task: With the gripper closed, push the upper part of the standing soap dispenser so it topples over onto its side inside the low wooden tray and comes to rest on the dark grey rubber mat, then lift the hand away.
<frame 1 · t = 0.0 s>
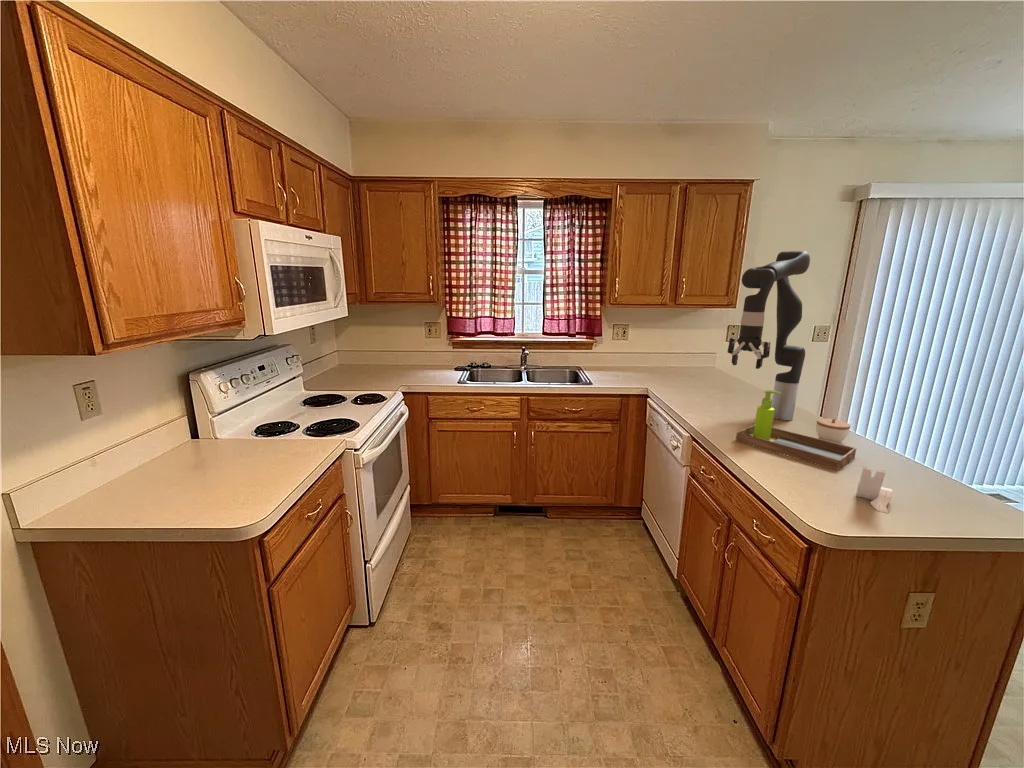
hand: (745, 366, 167), 29 cm above the countertop, tool pointing down, fingers open, 8 cm apart
soap dispenser: (762, 440, 174), resting in wooden tray
plastic part: (871, 503, 126), on the countertop
wooden tray: (792, 448, 165), on the countertop
lidded jar: (829, 441, 173), on the countertop
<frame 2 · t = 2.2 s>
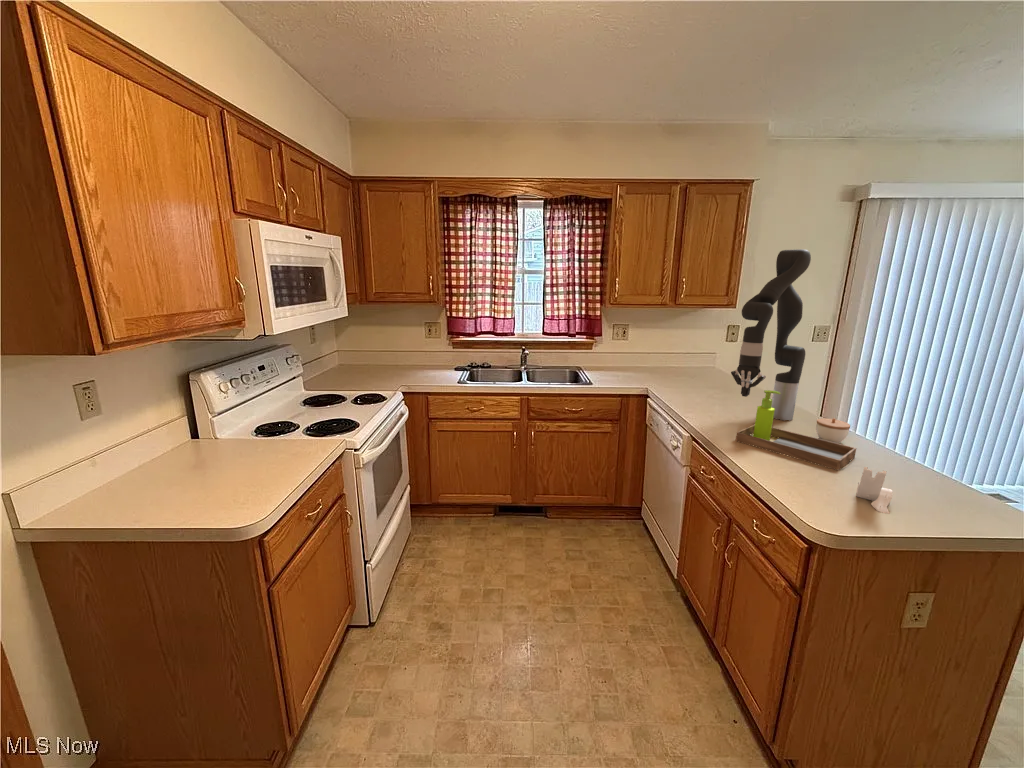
hand: (744, 396, 177), 16 cm above the countertop, tool pointing down, fingers closed
nothing on the countertop moved.
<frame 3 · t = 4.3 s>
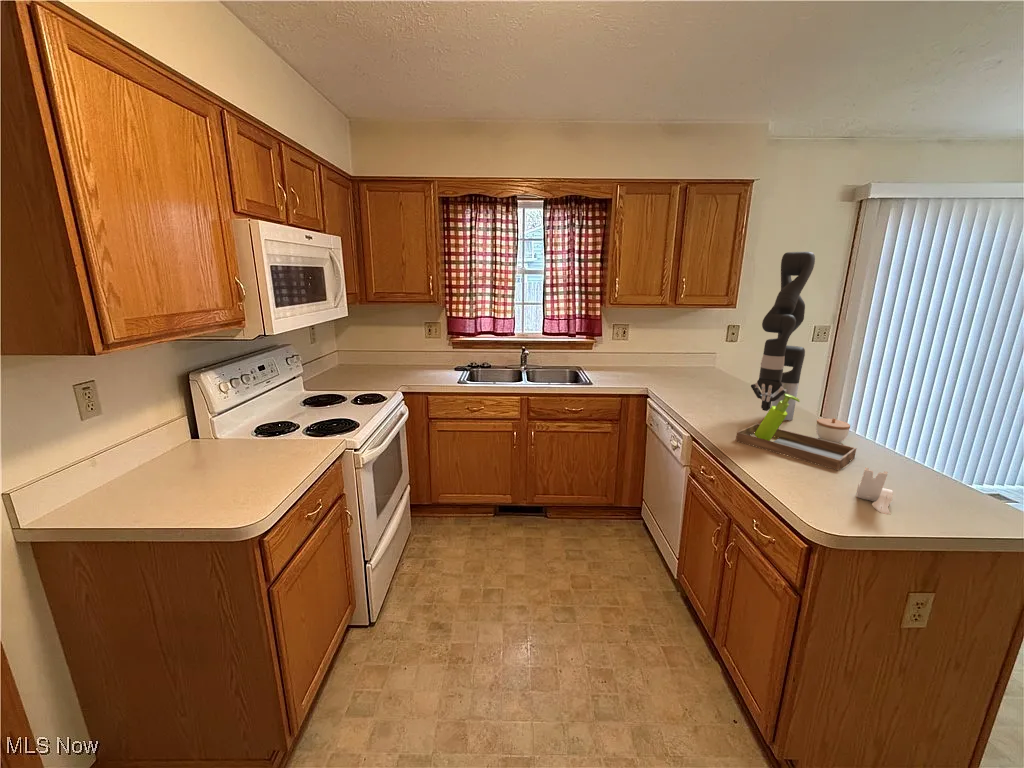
hand: (765, 410, 172), 12 cm above the countertop, tool pointing down, fingers closed
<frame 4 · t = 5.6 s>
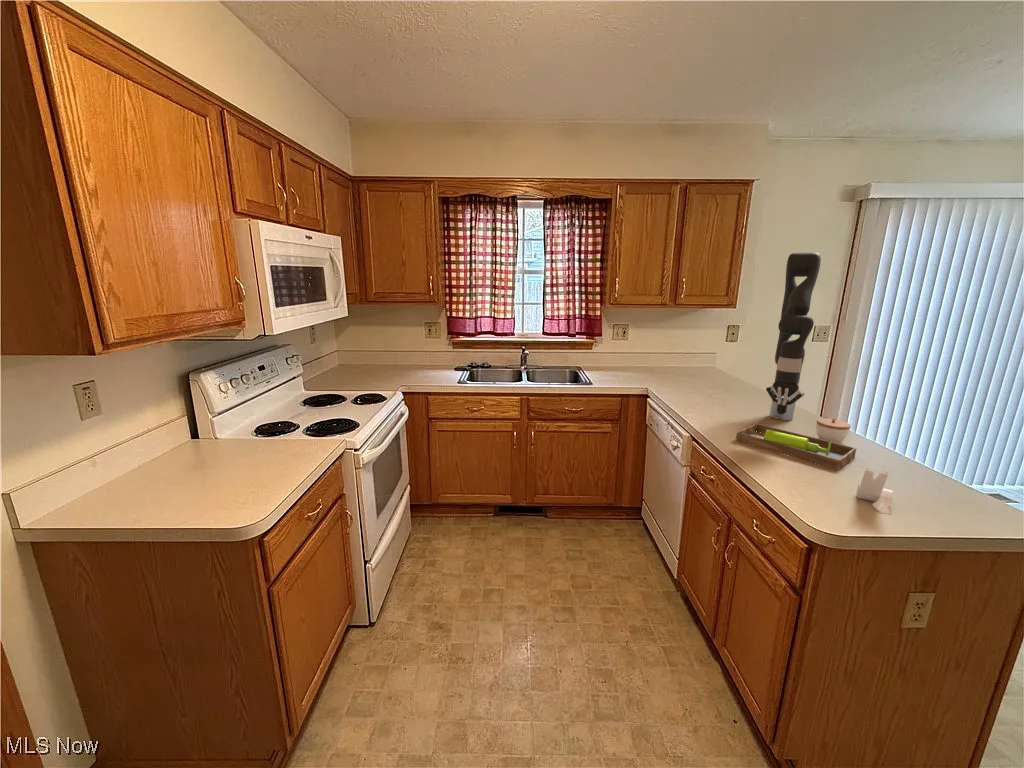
hand: (781, 413, 167), 12 cm above the countertop, tool pointing down, fingers closed
soap dispenser: (765, 435, 167), point 4 cm above the countertop, touching wooden tray
everything else where it was.
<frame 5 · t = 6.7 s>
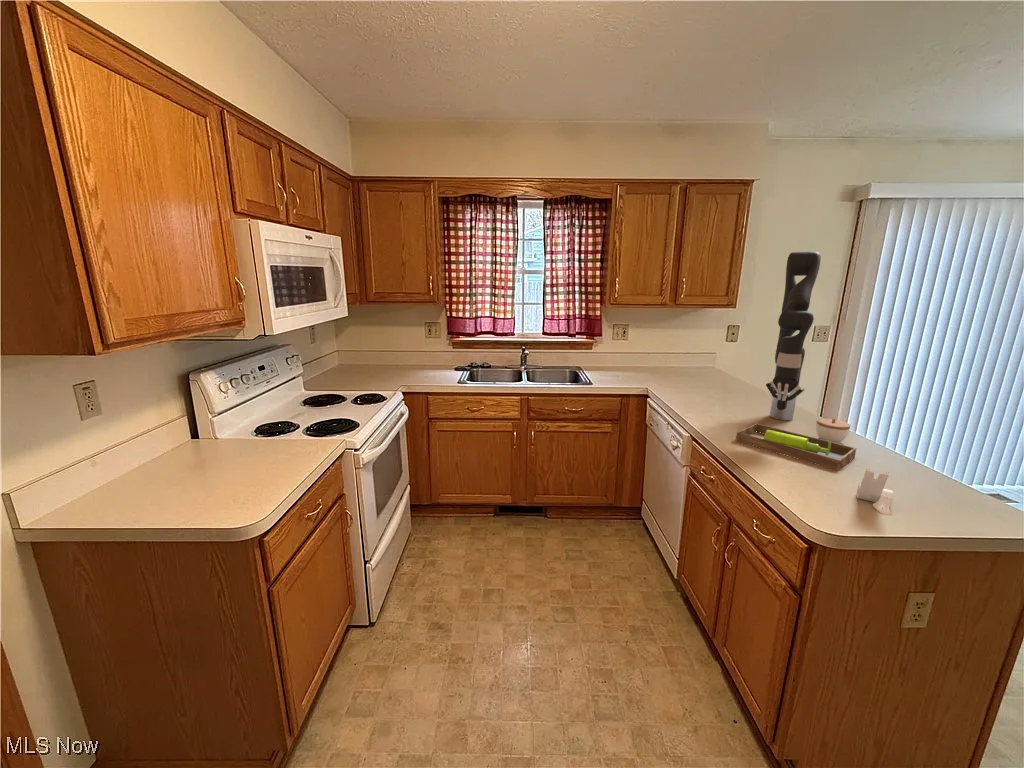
hand: (781, 409, 167), 14 cm above the countertop, tool pointing down, fingers closed
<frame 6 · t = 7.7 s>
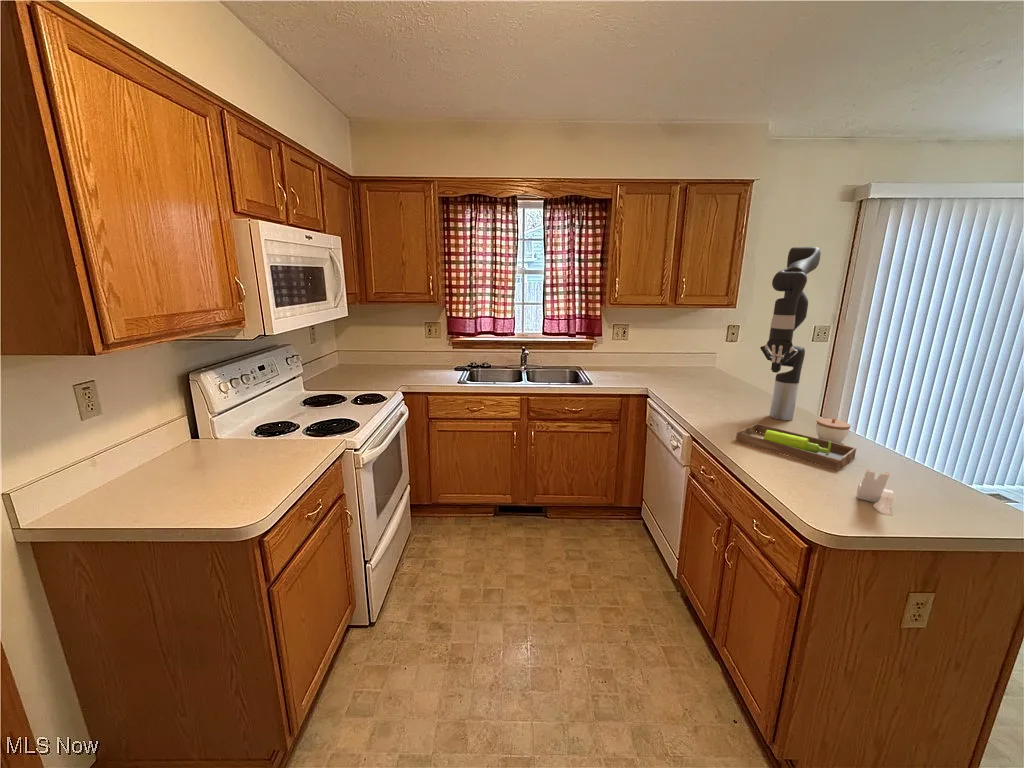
hand: (775, 372, 168), 27 cm above the countertop, tool pointing down, fingers closed
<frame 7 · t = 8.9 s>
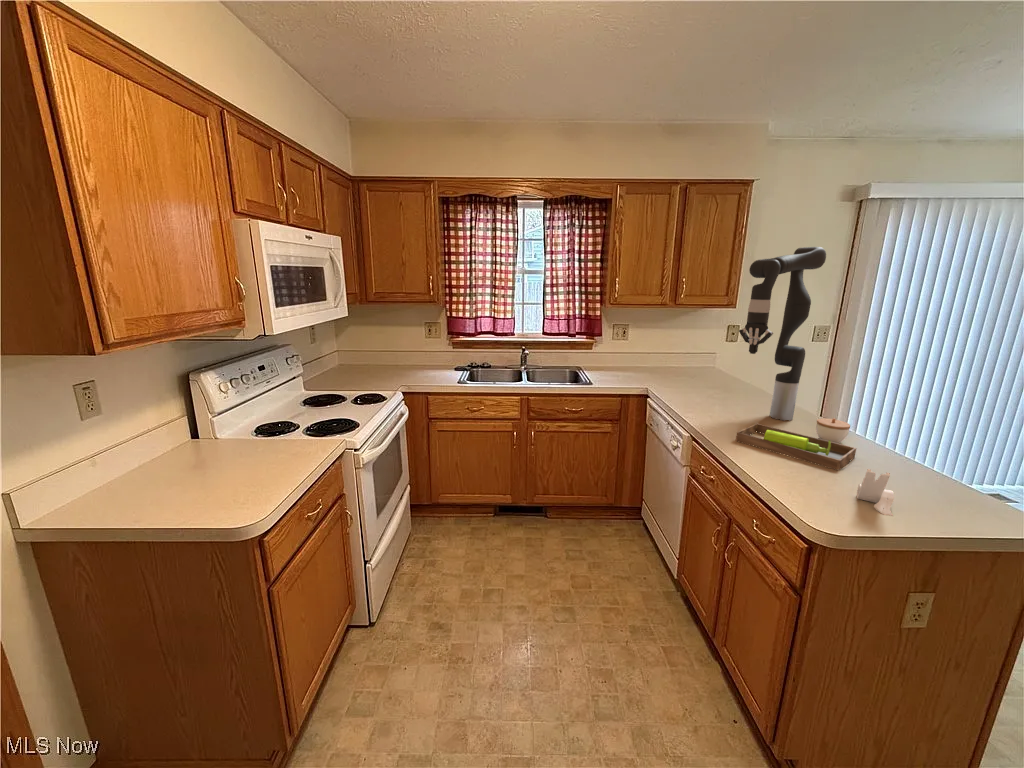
hand: (752, 353, 181), 32 cm above the countertop, tool pointing down, fingers closed
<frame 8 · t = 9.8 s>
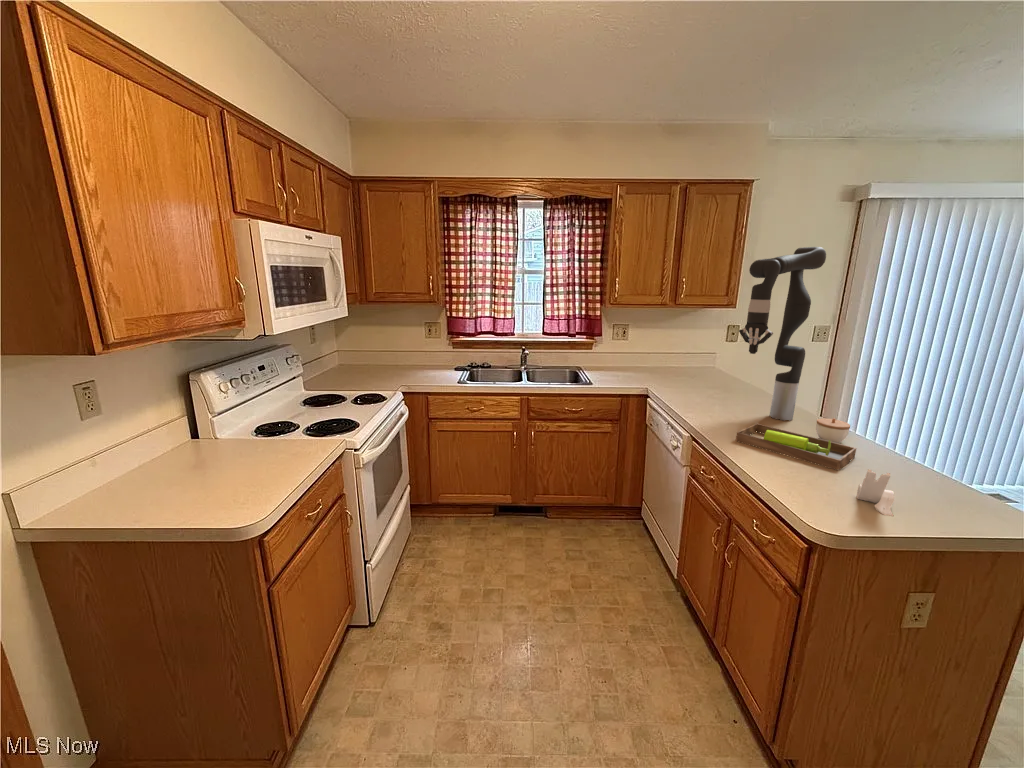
hand: (752, 353, 181), 32 cm above the countertop, tool pointing down, fingers closed
at the end: soap dispenser tilted 90°; soap dispenser touching wooden tray; soap dispenser inside the target area (9.5 cm from its centre), point 4.0 cm above the countertop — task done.
